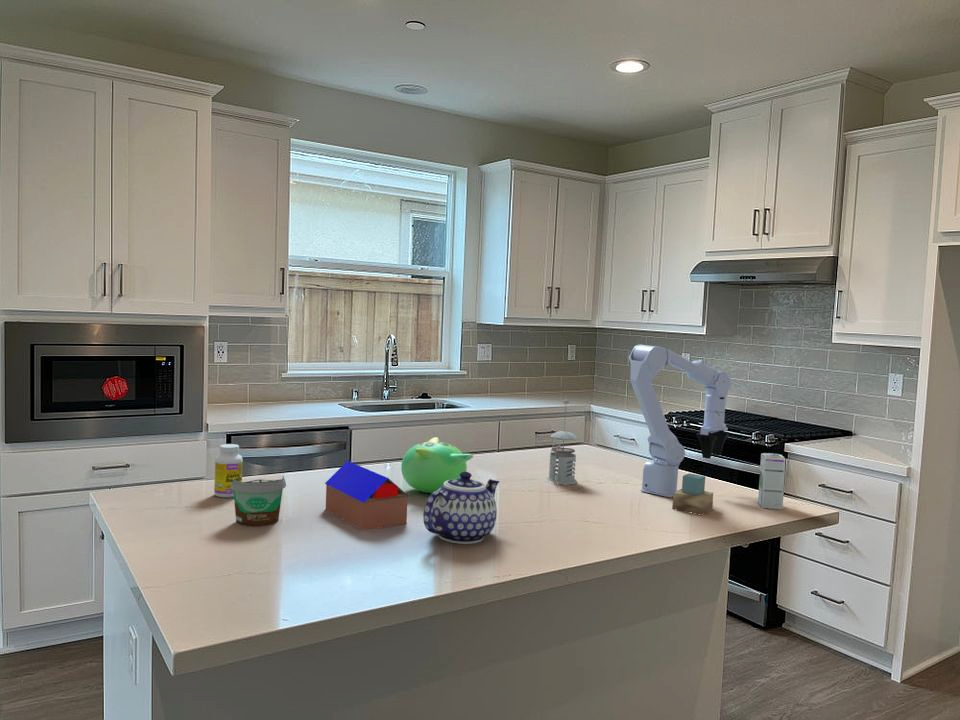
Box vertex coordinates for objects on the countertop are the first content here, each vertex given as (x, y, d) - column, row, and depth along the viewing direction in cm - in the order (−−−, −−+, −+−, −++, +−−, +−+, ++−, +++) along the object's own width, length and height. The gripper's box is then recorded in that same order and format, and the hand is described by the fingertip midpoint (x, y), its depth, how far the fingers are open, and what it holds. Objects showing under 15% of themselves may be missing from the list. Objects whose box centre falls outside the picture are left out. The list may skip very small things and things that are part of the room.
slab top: (673, 501, 194) (673, 492, 194) (683, 496, 200) (684, 487, 200) (702, 507, 189) (703, 498, 189) (712, 501, 196) (713, 492, 196)
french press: (583, 481, 222) (587, 399, 220) (566, 487, 212) (571, 403, 210) (554, 475, 227) (558, 396, 225) (536, 482, 217) (541, 399, 216)
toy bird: (456, 483, 210) (458, 433, 209) (474, 499, 194) (476, 444, 193) (395, 485, 205) (397, 434, 204) (408, 501, 189) (410, 445, 188)
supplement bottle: (224, 499, 182) (225, 449, 181) (208, 494, 186) (210, 445, 185) (247, 495, 187) (248, 446, 186) (231, 490, 191) (233, 442, 190)
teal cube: (681, 492, 194) (682, 475, 194) (688, 489, 198) (689, 473, 198) (698, 495, 192) (699, 478, 191) (704, 492, 195) (705, 476, 195)
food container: (233, 530, 158) (234, 485, 157) (229, 522, 164) (230, 478, 163) (290, 525, 164) (291, 481, 163) (284, 517, 169) (285, 475, 169)
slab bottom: (672, 510, 194) (672, 501, 194) (683, 505, 201) (684, 496, 201) (701, 516, 190) (701, 507, 189) (712, 511, 196) (712, 502, 196)
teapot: (447, 559, 147) (450, 487, 146) (397, 541, 157) (400, 473, 156) (522, 533, 166) (526, 469, 165) (474, 518, 176) (476, 458, 175)
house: (367, 503, 185) (368, 458, 185) (408, 524, 169) (410, 475, 169) (323, 510, 178) (325, 463, 177) (362, 532, 162) (364, 480, 161)
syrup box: (783, 510, 199) (787, 457, 198) (760, 508, 200) (764, 456, 199) (778, 504, 204) (782, 454, 203) (756, 502, 205) (760, 452, 204)
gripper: (718, 414, 207) (715, 461, 208) (736, 411, 218) (733, 455, 219) (695, 411, 212) (691, 457, 213) (714, 408, 223) (710, 451, 224)
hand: (711, 456), depth 216 cm, fingers open, 7 cm apart
